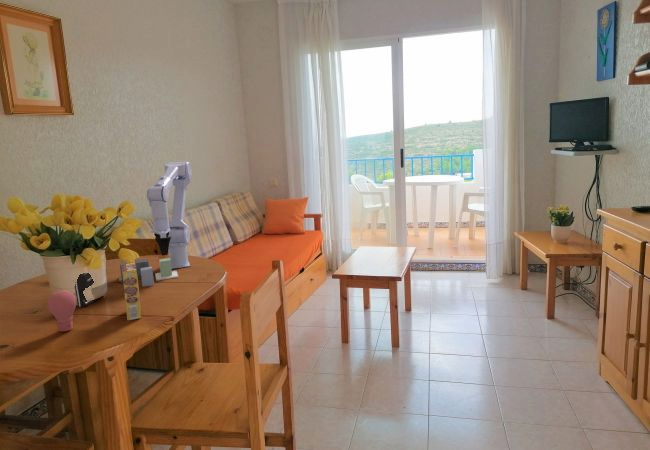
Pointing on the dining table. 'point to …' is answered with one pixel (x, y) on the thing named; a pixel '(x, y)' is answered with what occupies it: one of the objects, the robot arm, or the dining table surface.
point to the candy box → (131, 291)
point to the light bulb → (62, 308)
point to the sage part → (165, 267)
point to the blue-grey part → (147, 276)
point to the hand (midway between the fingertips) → (164, 252)
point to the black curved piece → (83, 288)
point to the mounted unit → (139, 264)
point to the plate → (158, 276)
